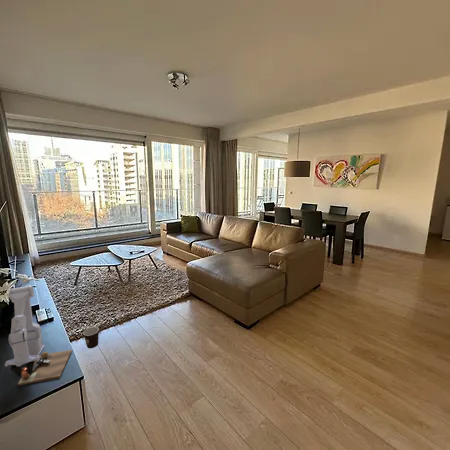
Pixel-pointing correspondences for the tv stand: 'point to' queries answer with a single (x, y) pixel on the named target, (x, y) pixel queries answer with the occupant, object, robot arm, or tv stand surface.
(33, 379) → the light wood flat board
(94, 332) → the coffee mug
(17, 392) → the tv stand surface
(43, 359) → the lever
